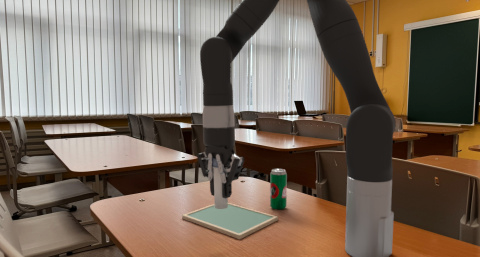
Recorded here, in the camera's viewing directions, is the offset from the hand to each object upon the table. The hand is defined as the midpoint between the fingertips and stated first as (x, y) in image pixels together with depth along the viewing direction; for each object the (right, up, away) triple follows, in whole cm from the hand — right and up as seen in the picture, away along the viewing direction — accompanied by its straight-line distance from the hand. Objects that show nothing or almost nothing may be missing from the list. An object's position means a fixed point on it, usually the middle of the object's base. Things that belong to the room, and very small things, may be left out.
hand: (220, 195), depth 82 cm
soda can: (+17, -9, +24) cm, 31 cm away
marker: (0, -3, 0) cm, 3 cm away
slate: (+2, -10, +15) cm, 17 cm away
